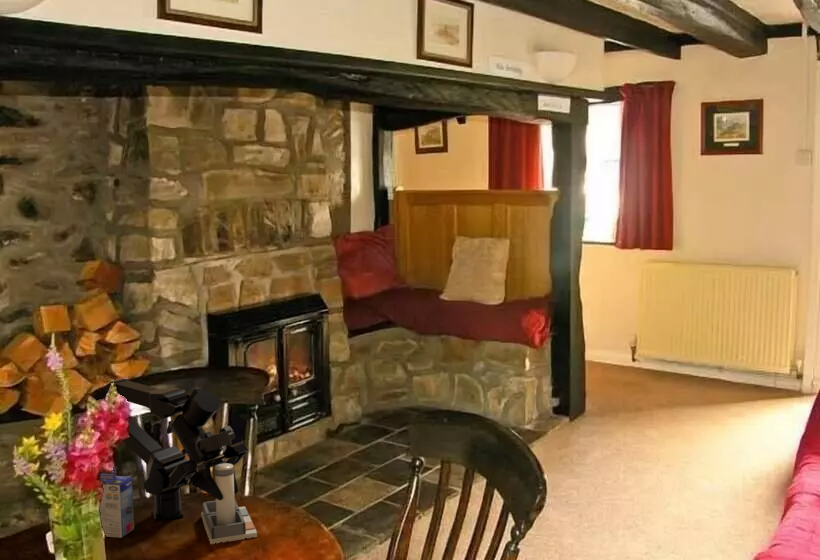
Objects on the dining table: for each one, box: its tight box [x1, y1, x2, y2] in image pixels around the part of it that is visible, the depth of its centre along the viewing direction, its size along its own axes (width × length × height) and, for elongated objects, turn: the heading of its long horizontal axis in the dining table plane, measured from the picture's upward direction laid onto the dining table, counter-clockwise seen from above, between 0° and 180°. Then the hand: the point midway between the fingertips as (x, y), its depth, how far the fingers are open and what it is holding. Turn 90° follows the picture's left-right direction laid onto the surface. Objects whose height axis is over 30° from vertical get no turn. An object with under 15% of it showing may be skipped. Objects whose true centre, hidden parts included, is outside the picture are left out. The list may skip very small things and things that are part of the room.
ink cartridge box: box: [99, 466, 135, 539], centre depth 188 cm, size 10×6×14 cm, turn 78°
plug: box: [213, 463, 236, 526], centre depth 186 cm, size 4×4×13 cm
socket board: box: [200, 500, 258, 545], centre depth 191 cm, size 15×10×4 cm, turn 20°
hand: (229, 496), depth 185 cm, fingers closed on plug, 4 cm apart
